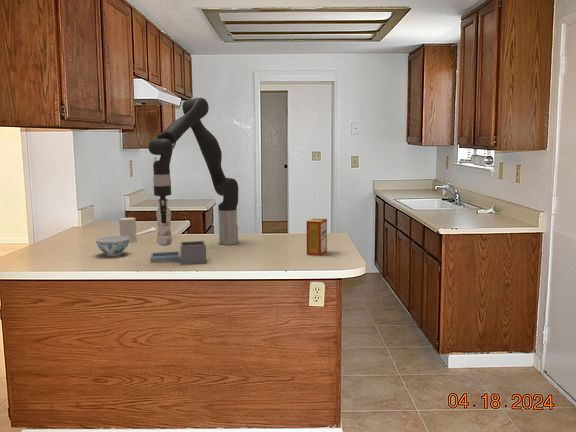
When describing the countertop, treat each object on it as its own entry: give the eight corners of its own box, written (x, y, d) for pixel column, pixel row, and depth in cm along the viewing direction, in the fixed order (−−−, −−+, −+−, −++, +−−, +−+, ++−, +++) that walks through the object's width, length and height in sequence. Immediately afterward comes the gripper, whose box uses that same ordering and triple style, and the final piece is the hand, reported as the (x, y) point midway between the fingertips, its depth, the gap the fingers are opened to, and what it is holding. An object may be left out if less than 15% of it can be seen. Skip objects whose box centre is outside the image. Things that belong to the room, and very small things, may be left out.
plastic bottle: (158, 244, 265) (156, 200, 262) (173, 244, 266) (171, 200, 263) (156, 247, 259) (154, 202, 256) (171, 246, 259) (169, 201, 256)
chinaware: (95, 253, 277) (94, 237, 276) (127, 250, 283) (127, 234, 282) (98, 259, 264) (97, 242, 263) (132, 256, 270) (131, 239, 269)
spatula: (128, 240, 311) (127, 235, 311) (121, 240, 313) (121, 234, 312) (157, 231, 337) (157, 227, 336) (151, 231, 338) (151, 226, 338)
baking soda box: (320, 255, 266) (320, 220, 263) (306, 254, 268) (306, 220, 266) (326, 251, 274) (326, 217, 272) (313, 250, 277) (313, 217, 274)
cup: (132, 243, 302) (131, 220, 300) (117, 242, 303) (116, 219, 302) (139, 240, 310) (138, 217, 308) (125, 239, 311) (123, 217, 310)
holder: (204, 258, 263) (204, 240, 262) (206, 263, 254) (205, 244, 253) (180, 259, 261) (180, 242, 260) (181, 264, 252) (180, 246, 251)
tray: (179, 255, 270) (179, 251, 270) (180, 261, 259) (179, 256, 258) (151, 257, 267) (151, 252, 267) (150, 262, 256) (150, 258, 256)
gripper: (171, 185, 252) (172, 224, 254) (170, 182, 266) (172, 219, 268) (153, 186, 250) (155, 225, 253) (153, 183, 264) (155, 220, 267)
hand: (163, 222), depth 261 cm, fingers closed on plastic bottle, 6 cm apart
